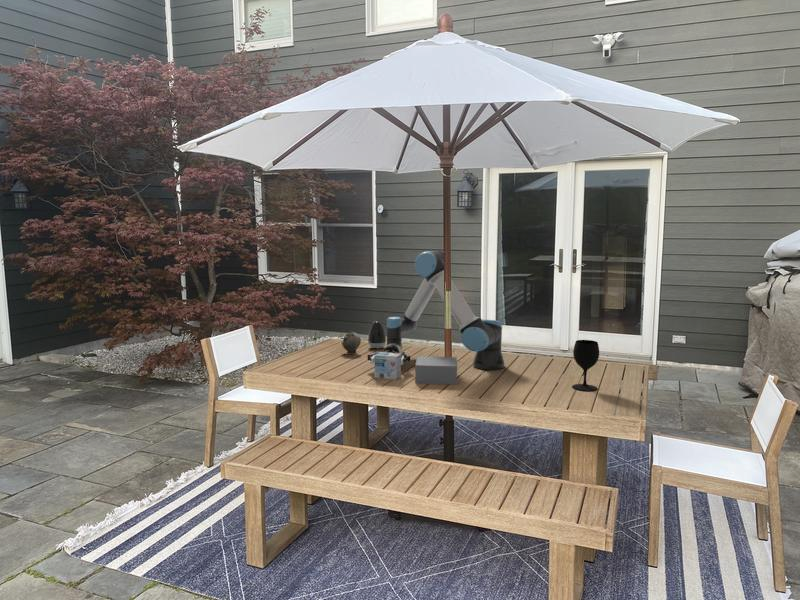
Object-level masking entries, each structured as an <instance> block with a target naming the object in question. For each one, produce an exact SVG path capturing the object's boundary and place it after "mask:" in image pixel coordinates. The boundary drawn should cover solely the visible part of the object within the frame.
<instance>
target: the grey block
mask: <svg viewBox="0 0 800 600" xmlns="http://www.w3.org/2000/svg"><path fill="white" fill-rule="evenodd" d="M414 367H415V369H414V370H415V371H414V376H415V377H414V378H415V379H414V383H415V384H426V385H427V384H429V385H457V384H458V359H457V357H456V356H426V355H424V356H422V355H421V356H419V355H418V356H417V358H416V361H415V366H414Z"/></svg>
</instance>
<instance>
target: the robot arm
mask: <svg viewBox="0 0 800 600" xmlns="http://www.w3.org/2000/svg"><path fill="white" fill-rule="evenodd" d="M444 253H445V252H444V251H440V250H434V251H429V250H428V251H424V252H421V253H419V254H418V255H417V257H416V258H415V261H414V269H415V272H416V273H417V274H418V275H419V276H420V277H423V278H424V279H423V280H422V282H421V284H420V286H419V287H418V288H417V291H416V293H415V295H414V296H413V298H412V300H411V302H410V304H409V305H408V308H406V311H405V313H404V314H403V316H402V317H400V316H389V317H388V318H386V345H385V346H386V347H385V348H384V350H383V352H385V353H400V354H401V366H403V365H404V363H406V362H411V355H410V354H408V353H406V352H405V351H402V350H403V343H402V338H403V337H402V335H403V334H407V333H410V332H413V331H414V330H416V328H418V321H419V318H420V317H421V315H422V314H423V311H424V310H425V308H426V306H427V305H428V303H429V301H430V299H431V298H432V296H433V294H434V292H435V291H437V293H438V294H439V296H440V298H441V300H442V301H443V302H444ZM445 291H446V282H445ZM445 299H446V295H445ZM450 301H451V311H450V313H451V315H452V317H454V319H455V321H456V322H457V323H458V325H459V331H458V332H459V333H460V335H461V342H462V344H463V346H464V347H465V349H467V350H468V351H470V352H475V356H474V358H473V361H472V362H473V363H472V366H473V367H474V368H476V369H481V370H487V371H490V370H491V371H492V370H493V371H494V370H502V369H504V368H505V360H504V357H503V356H504V355H503V354H502V337H503V335H502V334H503V333H502V331H503V325H502V321H500V320H495V319H482V318H481V317H479V316H476V315H475V313H474V312H473V310H472V309H471V307H470V305H469V304H468V303H467V301H466V300H465V297H464V296H463V295H462V294H461V292H460V290H459V289H458V288H457V286H456V284H455V283H454V281H453V280H452V279H451V298H450ZM379 352H380V351H379V350H377V351H375V352H373V353H369V354H367V361H369V362H371V363H370V364H371V365H374V364H375V355H376V354H377V353H379Z"/></svg>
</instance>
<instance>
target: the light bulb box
mask: <svg viewBox="0 0 800 600" xmlns="http://www.w3.org/2000/svg"><path fill="white" fill-rule="evenodd" d="M401 366H402V365H401V352H400V353H385V352H384V351H379V353H377V354H376V355H375V362H374V376H373V377H374V379H382V380H384V379H385V380H393V381H394V380H395V381H397V380H398V379H399V378H400V377H401V376H402V375H401V374H402V369H401V368H402V367H401Z"/></svg>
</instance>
